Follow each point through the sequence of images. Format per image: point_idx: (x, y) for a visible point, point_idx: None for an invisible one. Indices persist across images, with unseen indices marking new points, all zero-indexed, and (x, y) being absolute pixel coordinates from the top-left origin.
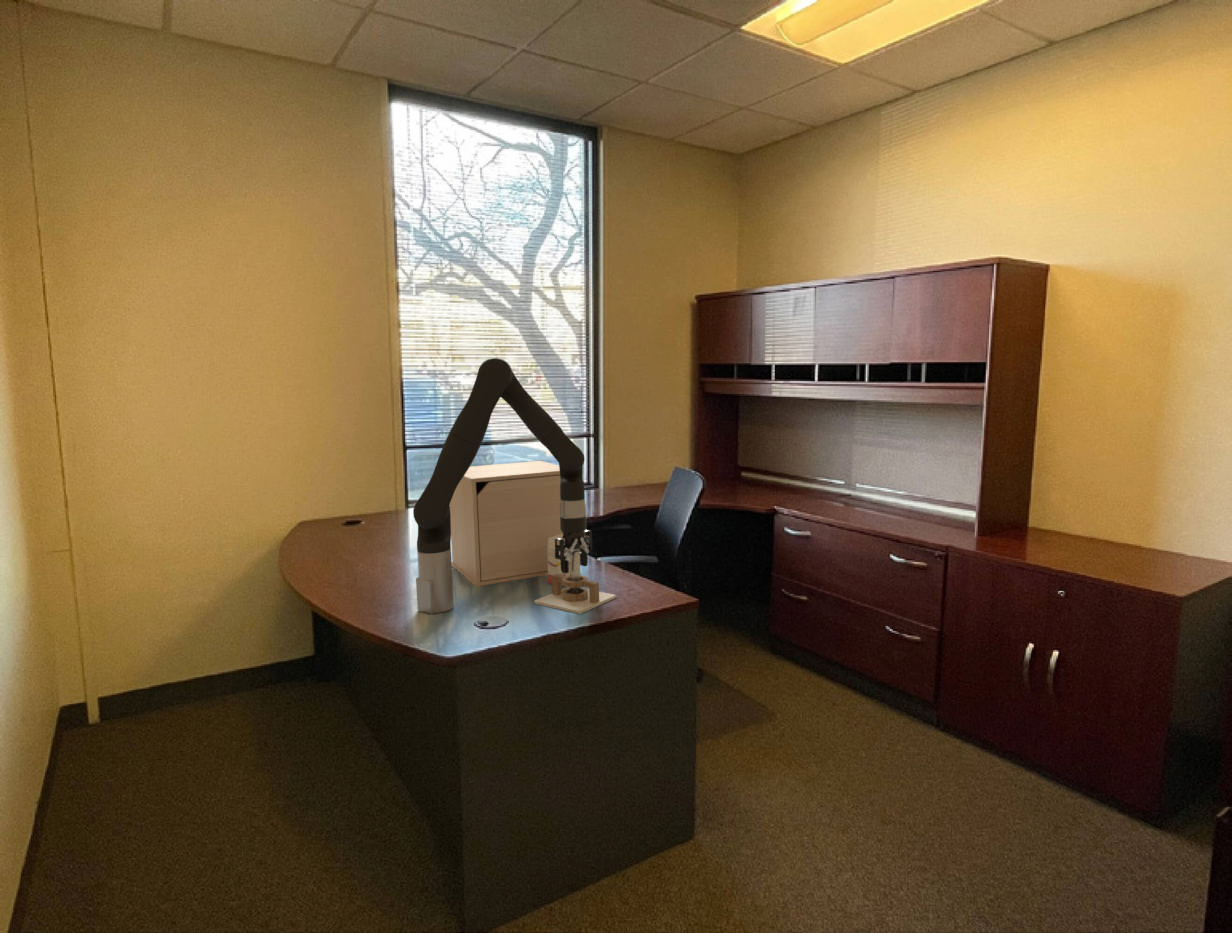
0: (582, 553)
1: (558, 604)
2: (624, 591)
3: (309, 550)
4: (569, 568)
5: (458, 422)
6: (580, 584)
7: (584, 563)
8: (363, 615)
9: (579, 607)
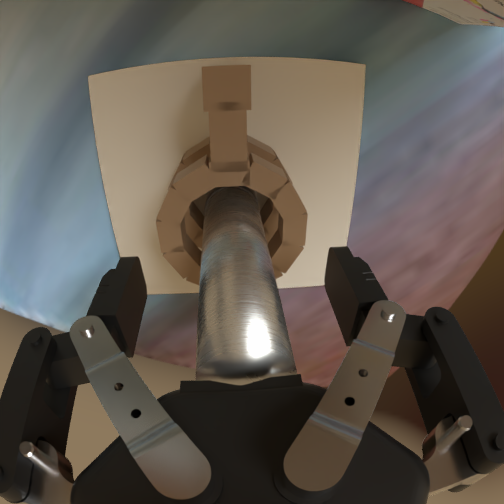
0: (358, 321)
1: (121, 194)
2: (404, 258)
3: None
4: (465, 8)
5: None
6: None
7: (330, 285)
8: None
9: (154, 274)
